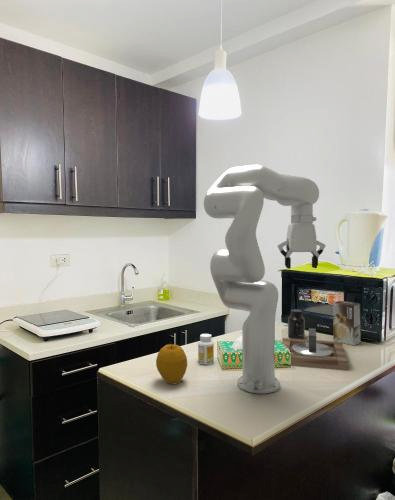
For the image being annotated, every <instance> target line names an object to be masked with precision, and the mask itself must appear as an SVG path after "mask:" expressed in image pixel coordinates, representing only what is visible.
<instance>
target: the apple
mask: <svg viewBox="0 0 395 500" xmlns="http://www.w3.org/2000/svg"><path fill="white" fill-rule="evenodd" d="M187 357H188V356H187V355H186V352H185V351H184V349H183V347H182V346H180V345H178V344H171V343H169V344H166V345H164V346H163V347H161V348H160V350H159V351H158V353H157V356H156V358H155V359H156V360H155V365H156V369H157V372H158V373H159V375H160V376H161V378H162V379H163V380H164V381H165V382H166V383H167V384H170V383H177V384H179V383H180V382H182V380H183V378H184V377H185V374H186V372H187V371H186V370H187V368H188V359H187ZM178 382H179V383H178Z"/></svg>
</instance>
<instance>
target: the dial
mask: <svg viewBox="0 0 395 500" xmlns="http://www.w3.org/2000/svg"><path fill="white" fill-rule="evenodd" d="M316 331H317V330H316V328H311V327H310V328H308V340H309V342H304V343H297V344H294V345H293V346H292V352H293V353H294V354H297V355H310V356H323V357H331V356H332V355H333V349H332V348H331V347H329V346H327V345H324V344H319V343H316V340H317V332H316Z"/></svg>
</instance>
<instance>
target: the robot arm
mask: <svg viewBox="0 0 395 500" xmlns="http://www.w3.org/2000/svg"><path fill="white" fill-rule="evenodd" d="M319 198H320V190H319V187H318V185H317V183H316V182H315V181H313V180H311V179H309V178H306V177H303V176H296V175H290V174H284V173H279V172H277V171H274V170H272V169H271V168H269V167H267V166H265V165H262V164H250V165H249V164H248V165H243V166H241V165H240V166H234V167H233V166H232V167H231V168H228V169H227V170H226V171H224V172H223V173H222V174H221V175H220V177H218V178H217V180H216V181H215V182H214V183H213V184H212V185H211V187H209V189H208V190H207V192H206V193H205V196H204V199H203V209H204V211H205V213H206V214H207V215H208V216H209V217H210V218H213V219H218V220H219V219H220V220H221V219H233V220H232V223H230V226H229V227H228V229H227V231H226V233H225V237H224V241H225V246H226V248H222V249H218V250H217V251H215V252H214V253H213V254H212V256H211V258H210V265H209V268H210V269H209V270H210V275H211V278H212V281H213V283H214V286H215V288H216V291H217V293H218V296H219V298H220V300H221V303H222V304H223V305H224V306H225V307H226V308H228V309H232V310H238V311H243V312H244V311H245V312H248V313H249V315H248V316H247V317H246V319H245V320H244V322H243V324H242V329H241V331H242V333H241V334H242V335H241V336H242V346H241V347H242V375H241V376H239V377H238V378H237V380H236V381H237V382H236V383H237V386H238V387H239V389H241V390H242V391H245V392H247V393H251V394H264V395H265V394H270V393H271V394H272V393H274V392H276V391H278V390H279V389H280V387H281V382H280V380H279V378H277V377H276V375H275V372H276V371H275V370H276V369H275V368H276V366H275V365H276V362H275V361H276V359H275V358H276V354H275V353H276V352H275V351H276V350H275V349H276V348H275V347H276V346H275V345H276V341H275V340H276V339H275V337H276V336H275V335H276V331H275V330H276V314H277V313H276V312H277V308H278V303H279V290H278V288H277V286H276V285H275V284H274V283H272V282H270V281H269V280H263V279H264V276H265V274H266V271H265V270H266V269H265V263H264V259H263V256H262V252H261V250H260V246H259V243H258V238H257V233H256V232H257V227H258V223H259V220H260V217H261V213H262V211H263V207H264V199H266V200H269V201H276V202H277V204H279V205H281V206H283V207H290V224H288V226H287V229H286V230H287V232H286V239H285V241H283V242H281V243H279V244H278V245H277V248H278V251H279V253H281V255H282V256H283V257H284V267H285V268H286V269H291V268H292V267H291V265H292V264H291V262H292V259H291V257H290V256H291V255H292V254H293V253H311V254H312V256H311V268H313V269H317V268H318V266H319V257H320V256H321V254H322V253H323V252H324V249H325V248H326V244H324V243H322V242H321V241H320V240H317V232H316V227H315V224H314V222H315V221H317V217H316V216H314V213H313V212H314V210H313V209H314V206H313V205H315V204H316V203H317V202H318V201H319ZM318 246H319V248H318V249H317V247H318ZM284 247H285V250H286V251H285V250H284Z"/></svg>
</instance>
